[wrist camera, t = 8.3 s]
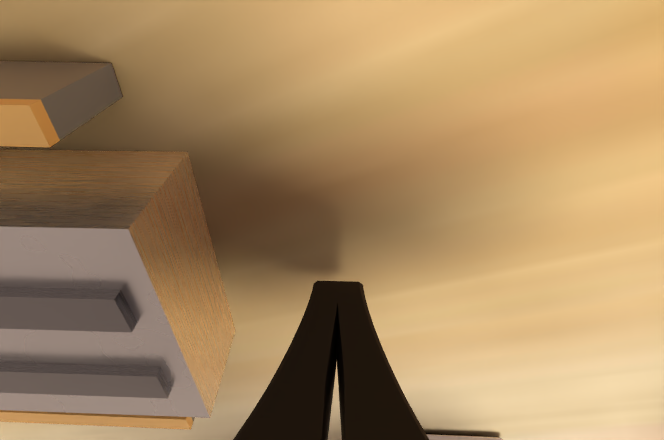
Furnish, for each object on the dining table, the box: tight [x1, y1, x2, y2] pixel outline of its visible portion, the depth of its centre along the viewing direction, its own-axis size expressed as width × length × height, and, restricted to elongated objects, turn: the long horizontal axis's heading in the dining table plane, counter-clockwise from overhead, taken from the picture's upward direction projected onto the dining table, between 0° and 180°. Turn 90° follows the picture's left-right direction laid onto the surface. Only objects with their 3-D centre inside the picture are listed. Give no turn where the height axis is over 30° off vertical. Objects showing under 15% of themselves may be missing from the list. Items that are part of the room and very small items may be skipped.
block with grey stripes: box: [0, 149, 235, 418], centre depth 11 cm, size 8×8×4 cm
